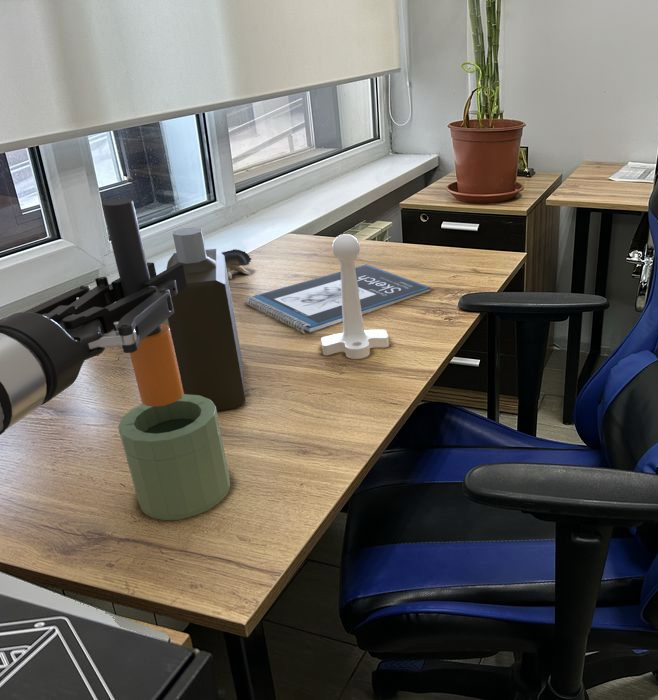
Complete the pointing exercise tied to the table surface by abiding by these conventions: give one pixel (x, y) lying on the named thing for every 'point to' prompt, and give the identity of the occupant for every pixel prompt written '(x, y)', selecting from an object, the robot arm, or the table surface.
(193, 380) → the bottle
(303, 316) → the sketchbook
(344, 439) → the table surface
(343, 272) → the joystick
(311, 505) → the table surface
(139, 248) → the brush
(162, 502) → the sage green tumbler
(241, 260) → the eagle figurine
